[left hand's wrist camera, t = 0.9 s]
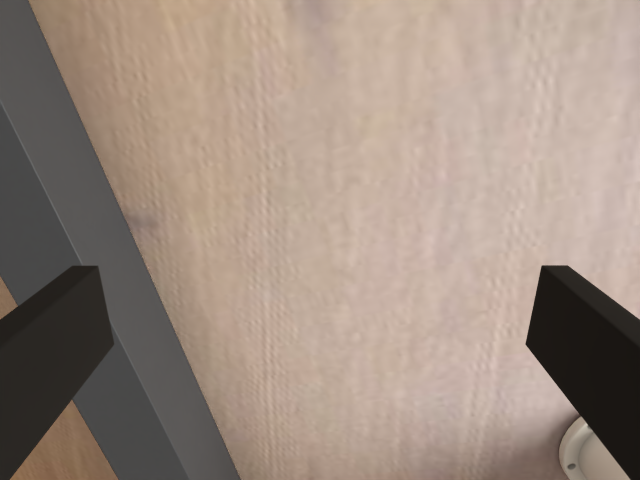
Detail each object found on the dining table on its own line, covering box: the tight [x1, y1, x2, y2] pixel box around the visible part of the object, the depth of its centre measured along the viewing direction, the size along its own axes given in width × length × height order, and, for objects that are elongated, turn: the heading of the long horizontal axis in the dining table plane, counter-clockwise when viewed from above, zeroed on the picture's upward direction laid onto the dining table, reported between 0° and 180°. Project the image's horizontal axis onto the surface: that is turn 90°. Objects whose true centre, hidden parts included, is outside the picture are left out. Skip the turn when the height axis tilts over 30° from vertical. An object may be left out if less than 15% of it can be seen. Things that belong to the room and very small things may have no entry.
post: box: [0, 0, 240, 480], centre depth 35 cm, size 81×6×8 cm, turn 15°
